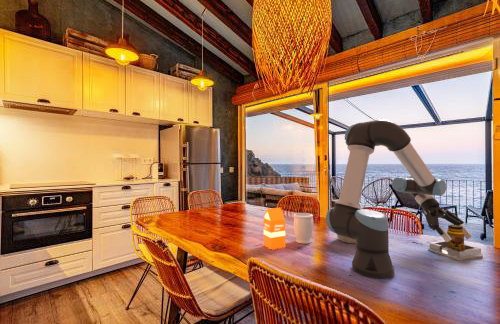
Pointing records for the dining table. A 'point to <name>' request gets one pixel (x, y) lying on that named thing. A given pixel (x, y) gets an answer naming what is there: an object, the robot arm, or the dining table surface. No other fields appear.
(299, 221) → the jar
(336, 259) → the dining table surface
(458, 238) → the condiment
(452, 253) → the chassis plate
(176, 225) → the dining table surface
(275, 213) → the orange juice
